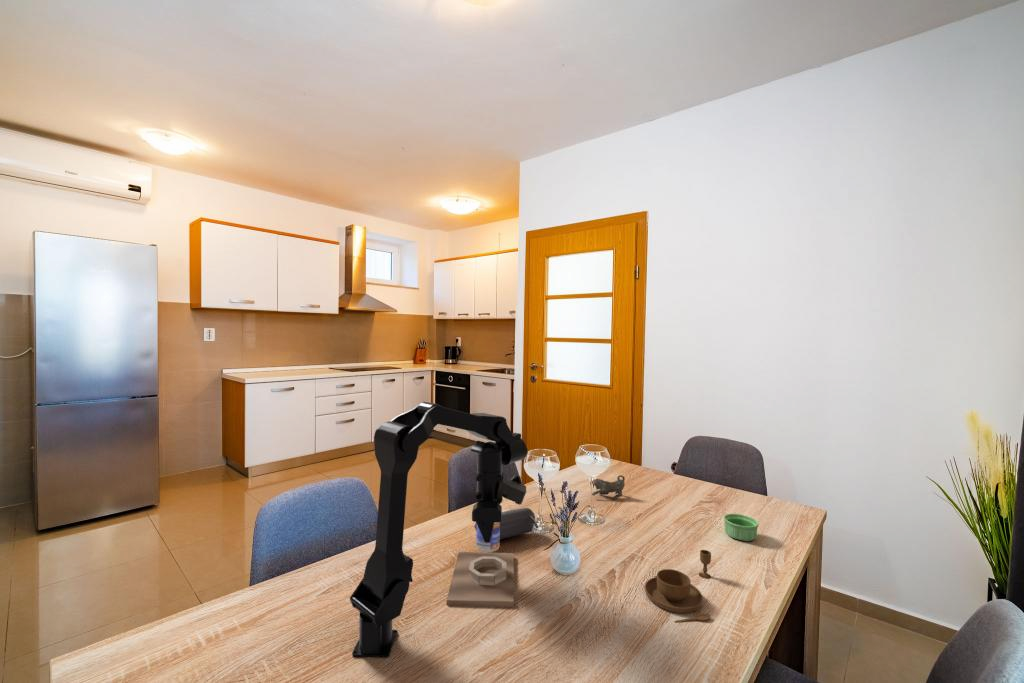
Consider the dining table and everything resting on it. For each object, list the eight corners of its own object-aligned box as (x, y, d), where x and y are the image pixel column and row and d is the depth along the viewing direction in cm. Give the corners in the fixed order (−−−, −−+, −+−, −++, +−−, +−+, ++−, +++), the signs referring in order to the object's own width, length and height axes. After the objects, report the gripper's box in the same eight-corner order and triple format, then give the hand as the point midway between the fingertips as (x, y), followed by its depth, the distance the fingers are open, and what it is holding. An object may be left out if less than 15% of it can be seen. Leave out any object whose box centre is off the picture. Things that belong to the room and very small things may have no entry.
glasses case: (524, 526, 130) (525, 500, 130) (543, 541, 121) (544, 513, 121) (468, 538, 122) (468, 510, 121) (484, 556, 112) (484, 525, 112)
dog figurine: (621, 493, 158) (622, 472, 158) (626, 499, 153) (627, 478, 153) (588, 493, 158) (589, 472, 158) (592, 499, 152) (592, 478, 152)
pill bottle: (496, 554, 98) (497, 511, 98) (473, 551, 99) (474, 508, 99) (501, 543, 103) (502, 502, 103) (479, 540, 105) (480, 499, 104)
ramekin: (727, 539, 124) (727, 524, 124) (720, 526, 133) (720, 511, 132) (762, 544, 122) (762, 528, 122) (752, 530, 130) (753, 515, 130)
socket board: (513, 607, 92) (513, 592, 92) (446, 605, 92) (446, 590, 92) (513, 557, 112) (513, 545, 112) (458, 556, 112) (458, 544, 112)
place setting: (629, 578, 104) (629, 554, 104) (705, 571, 108) (705, 547, 108) (669, 628, 87) (669, 598, 87) (757, 617, 91) (758, 589, 91)
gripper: (525, 483, 92) (523, 557, 92) (523, 458, 110) (522, 520, 111) (472, 482, 92) (470, 556, 92) (479, 457, 110) (478, 519, 111)
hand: (488, 536), depth 101 cm, fingers closed on pill bottle, 5 cm apart
